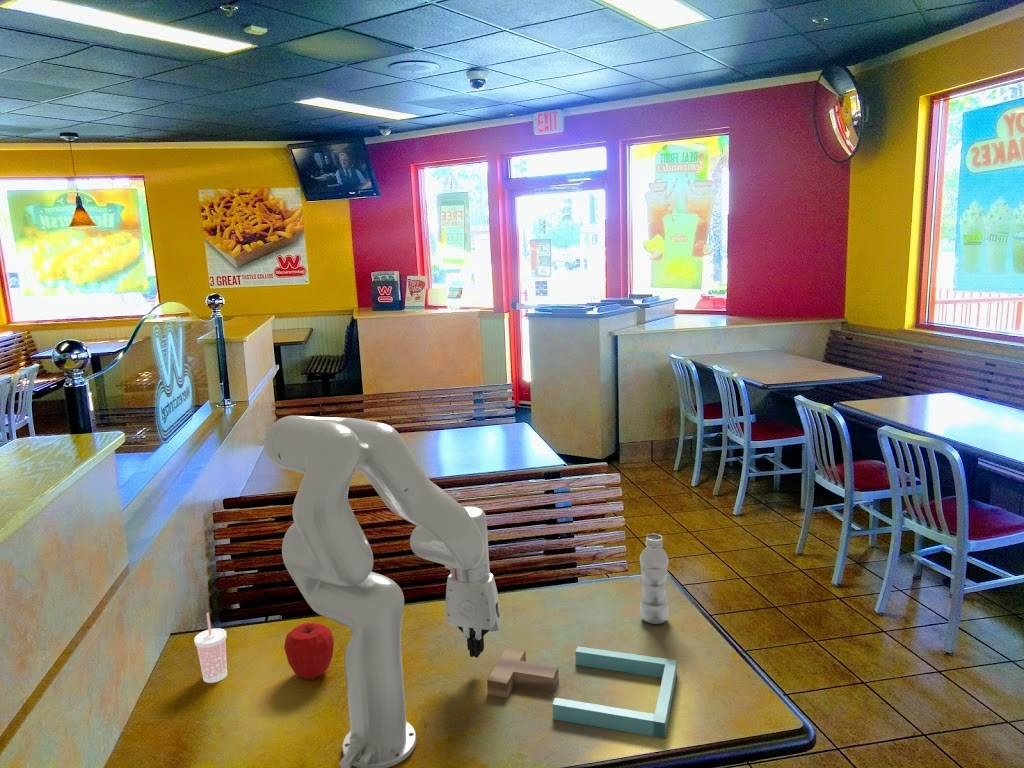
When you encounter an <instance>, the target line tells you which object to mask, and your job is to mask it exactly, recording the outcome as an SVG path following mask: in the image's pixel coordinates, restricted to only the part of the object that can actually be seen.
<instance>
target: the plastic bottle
mask: <svg viewBox="0 0 1024 768" xmlns="http://www.w3.org/2000/svg"><path fill="white" fill-rule="evenodd" d="M663 540H664V539H663V535H660V534H657V533H650V534H646V537H645V546H646V547H645V548H644V549H643V550H642V551H641V553H640V555H639V566H640V572H641V573H640V574H641V581H642V582H641V584H642V586H641V598H640V603H639V614H640V617H641V618H642V620H643V621H644V622H646V623H648V624H652V625H659V624H663V623H665V622H666V621H667V619H668V618H669V612H670V611H669V610H670V609H669V604H668V597H667V596H668V595H667V575H668V569H669V556H668V554H667V552H666V550H665V549H664V548H663V545H664V543H663Z"/></svg>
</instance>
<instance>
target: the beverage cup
mask: <svg viewBox="0 0 1024 768" xmlns="http://www.w3.org/2000/svg"><path fill="white" fill-rule="evenodd" d="M206 621H207V629H206V630H203V631H201V632H198V634H197V635H195V637H194V638H193V639H194V645H195V646H196V650H197V655H198V660H199V665H200V669H201V674H202V675H201V676H202V679H203V682H205V683H206V684H207V683H208V684H213V683H214V684H215V683H218V682H220V681H222V680H224V679H225V678H226V677H227V676H228V662H227V643H226V639H227V638H228V636H227V635H228V634H227V630H225V629H224V628H219V627H218V628H212V627H211V620H210V612H206Z"/></svg>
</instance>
